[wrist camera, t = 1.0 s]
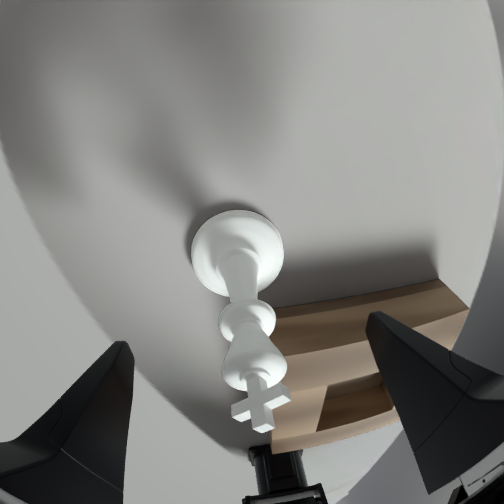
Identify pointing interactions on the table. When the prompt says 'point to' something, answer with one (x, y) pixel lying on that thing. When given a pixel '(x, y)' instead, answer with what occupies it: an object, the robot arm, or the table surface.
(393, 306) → the tan wooden square block
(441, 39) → the table surface
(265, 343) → the chess piece
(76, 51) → the table surface
